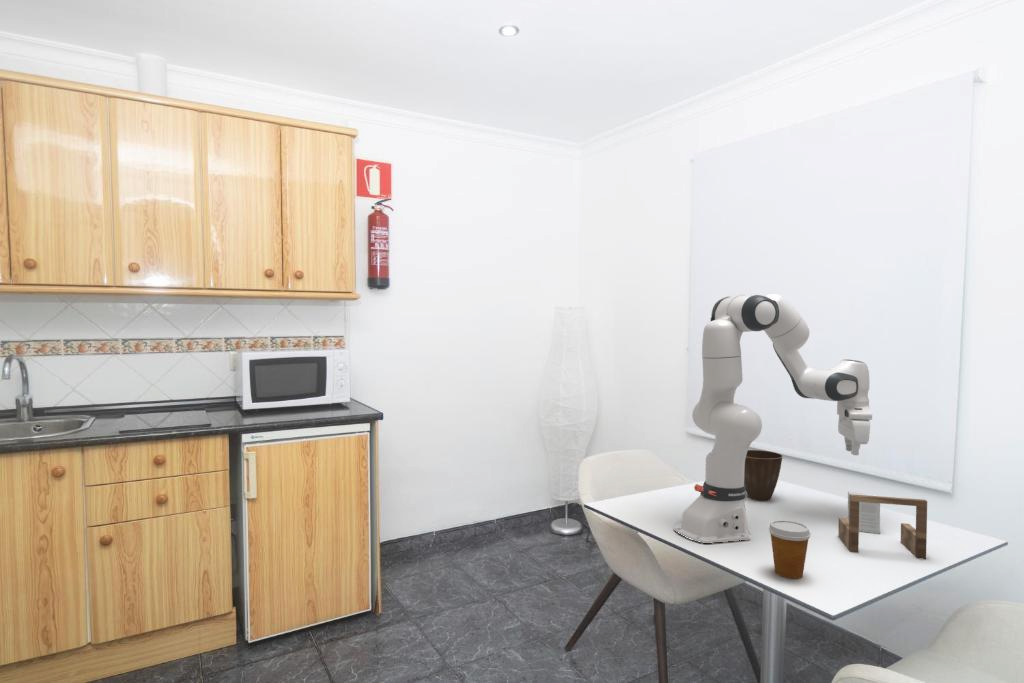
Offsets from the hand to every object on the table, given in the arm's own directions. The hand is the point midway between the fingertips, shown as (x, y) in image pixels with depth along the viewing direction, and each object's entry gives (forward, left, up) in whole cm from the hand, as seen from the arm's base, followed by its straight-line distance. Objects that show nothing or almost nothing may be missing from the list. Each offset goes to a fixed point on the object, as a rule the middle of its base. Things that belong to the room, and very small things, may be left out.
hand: (852, 452), depth 186 cm
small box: (-6, -9, -21) cm, 24 cm away
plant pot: (-10, +28, -21) cm, 37 cm away
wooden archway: (-16, -20, -21) cm, 33 cm away
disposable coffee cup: (-54, -22, -21) cm, 62 cm away
